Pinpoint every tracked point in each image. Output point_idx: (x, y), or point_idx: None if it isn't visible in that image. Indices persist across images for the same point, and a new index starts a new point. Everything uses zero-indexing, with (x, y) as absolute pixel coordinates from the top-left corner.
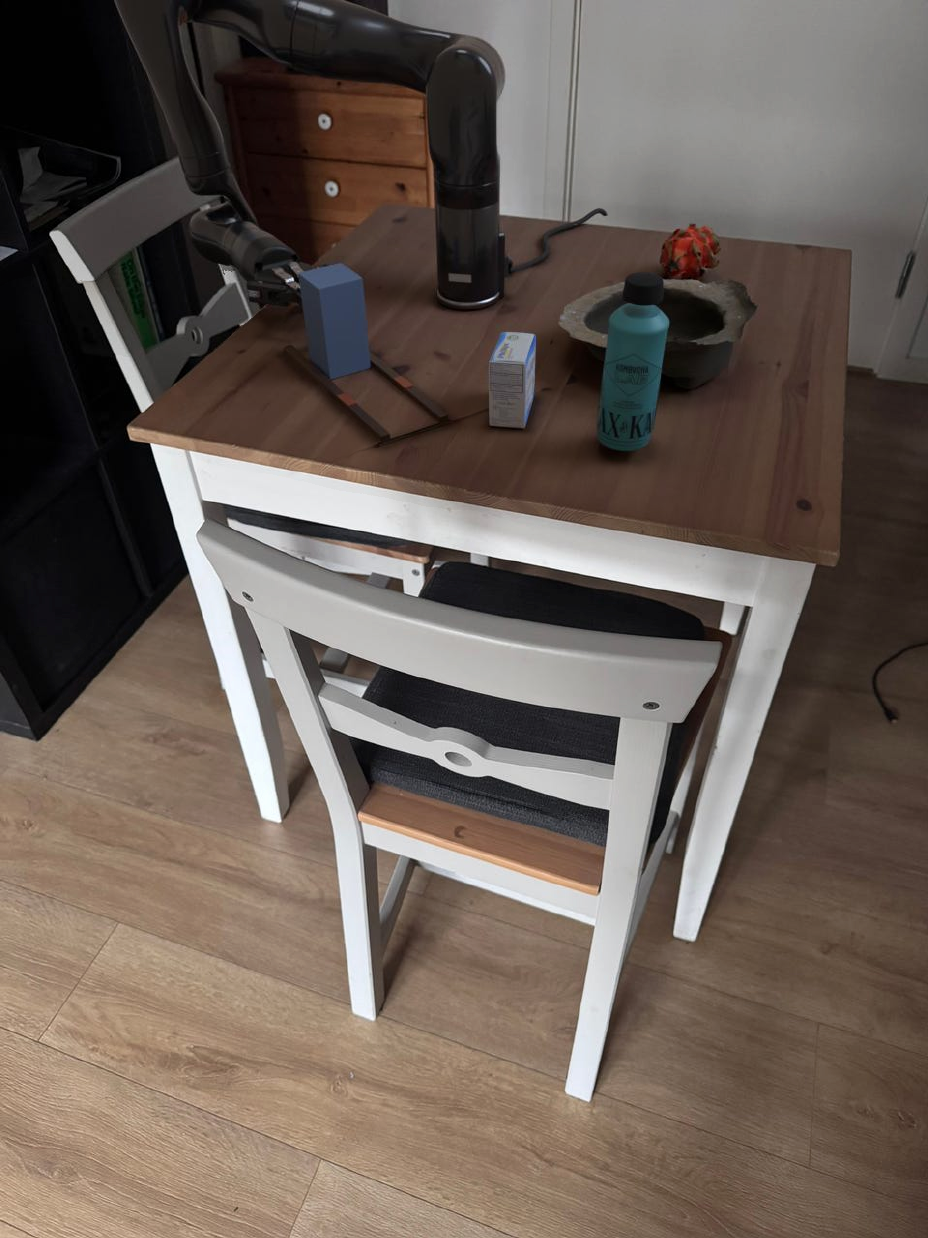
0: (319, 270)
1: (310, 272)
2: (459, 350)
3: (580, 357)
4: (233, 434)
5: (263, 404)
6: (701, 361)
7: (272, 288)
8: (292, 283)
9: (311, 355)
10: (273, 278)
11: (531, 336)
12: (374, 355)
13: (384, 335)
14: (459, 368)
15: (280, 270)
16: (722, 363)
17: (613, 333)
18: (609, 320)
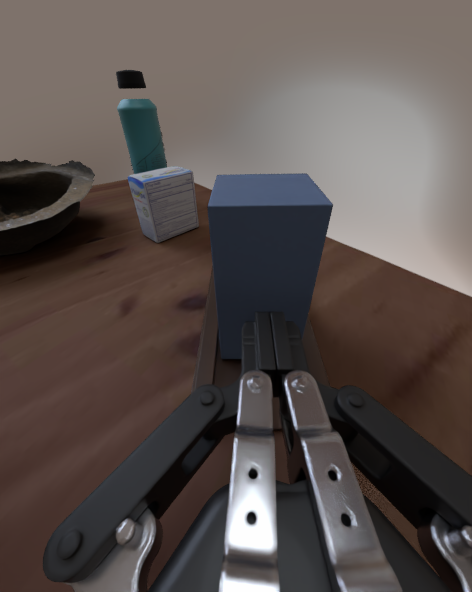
0: (276, 199)
1: (301, 199)
2: (99, 306)
3: (46, 254)
4: (416, 284)
5: (382, 313)
6: (55, 189)
7: (394, 417)
8: (308, 412)
9: None
10: (394, 551)
11: (134, 174)
12: (207, 314)
13: (125, 398)
14: (140, 281)
15: (352, 566)
16: (35, 199)
17: (155, 113)
18: (149, 107)
